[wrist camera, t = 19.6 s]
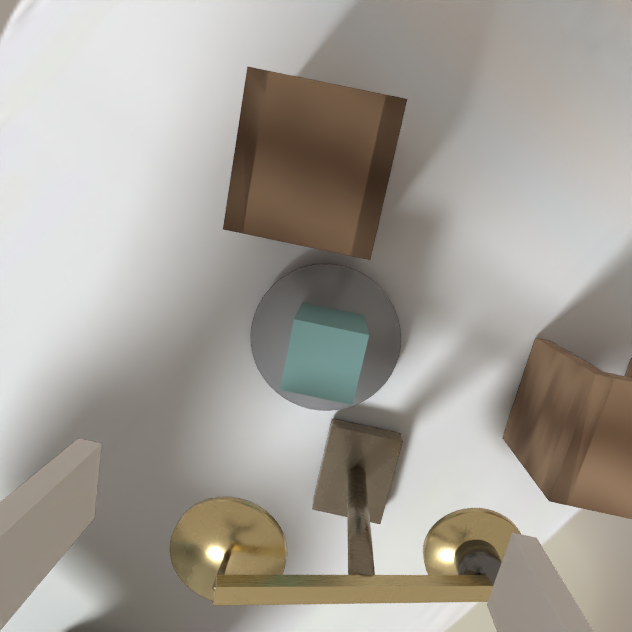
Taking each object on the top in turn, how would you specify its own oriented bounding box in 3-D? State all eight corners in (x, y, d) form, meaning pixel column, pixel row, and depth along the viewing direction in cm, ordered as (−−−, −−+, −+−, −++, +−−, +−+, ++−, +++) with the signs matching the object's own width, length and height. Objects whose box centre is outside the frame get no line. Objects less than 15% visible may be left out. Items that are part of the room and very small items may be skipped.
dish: (380, 417, 37) (381, 424, 36) (242, 388, 37) (239, 393, 36) (415, 280, 34) (417, 282, 33) (267, 250, 34) (264, 251, 33)
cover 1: (363, 250, 34) (370, 259, 26) (252, 227, 34) (222, 229, 26) (390, 130, 32) (407, 99, 24) (272, 106, 32) (247, 66, 24)
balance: (474, 533, 39) (558, 734, 24) (219, 478, 39) (140, 641, 24) (500, 454, 37) (609, 617, 22) (233, 397, 37) (158, 517, 22)
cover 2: (607, 460, 37) (684, 530, 28) (502, 437, 37) (549, 501, 28) (646, 361, 35) (742, 405, 26) (535, 337, 35) (595, 374, 26)
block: (350, 374, 35) (352, 405, 29) (290, 361, 35) (280, 389, 29) (364, 315, 34) (369, 335, 28) (302, 302, 34) (293, 319, 28)
